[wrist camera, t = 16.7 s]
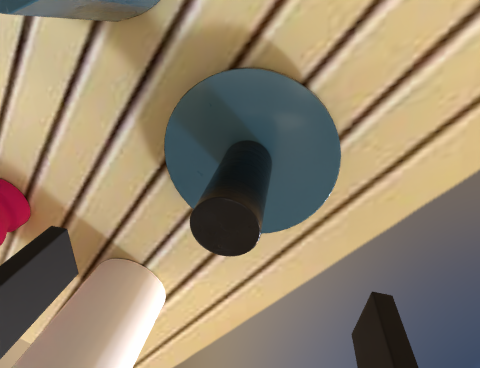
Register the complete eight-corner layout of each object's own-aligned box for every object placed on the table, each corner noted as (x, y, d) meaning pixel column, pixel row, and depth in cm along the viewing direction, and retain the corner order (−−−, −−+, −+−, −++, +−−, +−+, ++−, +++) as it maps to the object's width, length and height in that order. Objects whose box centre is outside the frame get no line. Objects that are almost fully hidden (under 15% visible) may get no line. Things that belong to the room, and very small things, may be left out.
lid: (170, 212, 28) (115, 292, 20) (166, 55, 21) (77, 70, 13) (316, 239, 27) (326, 338, 18) (363, 80, 20) (417, 117, 11)
